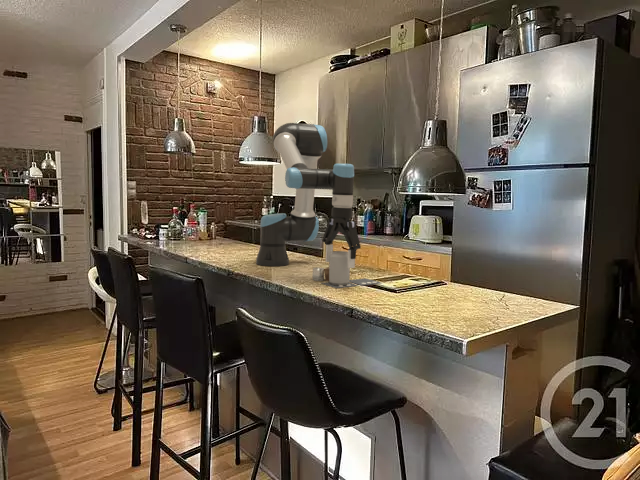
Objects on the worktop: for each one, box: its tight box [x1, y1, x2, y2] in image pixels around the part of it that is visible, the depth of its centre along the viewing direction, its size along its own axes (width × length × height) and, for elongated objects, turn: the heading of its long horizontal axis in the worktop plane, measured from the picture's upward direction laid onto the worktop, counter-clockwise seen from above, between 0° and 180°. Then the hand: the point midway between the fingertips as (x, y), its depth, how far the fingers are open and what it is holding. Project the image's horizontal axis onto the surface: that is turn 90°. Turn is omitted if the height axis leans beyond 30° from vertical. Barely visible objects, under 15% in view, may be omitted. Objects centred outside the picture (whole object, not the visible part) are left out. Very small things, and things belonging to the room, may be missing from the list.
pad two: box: [320, 281, 359, 289], centre depth 174 cm, size 10×10×1 cm
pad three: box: [349, 278, 382, 287], centre depth 180 cm, size 10×10×1 cm
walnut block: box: [324, 266, 329, 282], centre depth 182 cm, size 5×5×5 cm
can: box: [328, 250, 351, 285], centre depth 173 cm, size 8×8×12 cm
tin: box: [312, 267, 325, 282], centre depth 181 cm, size 4×4×5 cm
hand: (339, 264), depth 173 cm, fingers open, 13 cm apart
